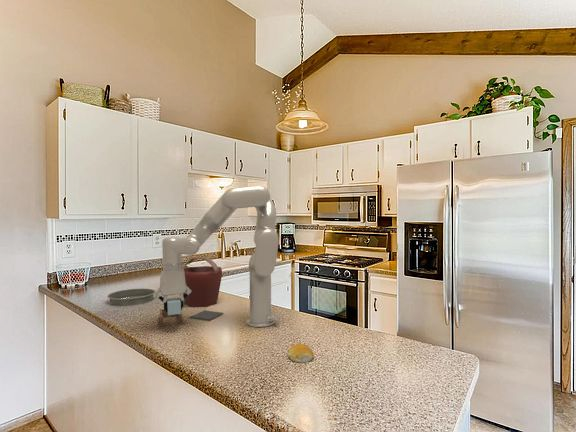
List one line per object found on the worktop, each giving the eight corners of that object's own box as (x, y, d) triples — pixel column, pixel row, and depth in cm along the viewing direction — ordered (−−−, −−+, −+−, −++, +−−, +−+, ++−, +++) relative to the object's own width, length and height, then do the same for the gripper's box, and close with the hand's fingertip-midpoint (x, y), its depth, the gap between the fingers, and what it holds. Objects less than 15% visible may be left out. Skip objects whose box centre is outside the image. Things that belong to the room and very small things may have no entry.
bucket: (173, 302, 182) (173, 257, 182) (209, 295, 196) (209, 253, 196) (193, 311, 163) (193, 261, 163) (231, 303, 178) (231, 257, 178)
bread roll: (308, 351, 116) (308, 339, 116) (316, 361, 107) (316, 349, 107) (285, 353, 114) (285, 341, 114) (291, 364, 105) (291, 352, 105)
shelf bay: (182, 324, 144) (182, 316, 144) (160, 327, 141) (160, 318, 141) (179, 314, 158) (179, 307, 158) (159, 317, 154) (159, 309, 154)
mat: (223, 314, 159) (223, 312, 159) (209, 321, 148) (209, 319, 148) (204, 311, 163) (204, 310, 163) (189, 318, 153) (189, 316, 153)
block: (181, 313, 134) (180, 301, 134) (167, 315, 132) (167, 303, 132) (179, 309, 140) (179, 297, 140) (167, 310, 138) (166, 299, 138)
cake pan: (108, 298, 191) (108, 290, 191) (154, 294, 201) (154, 286, 201) (105, 309, 169) (105, 300, 169) (156, 303, 179) (156, 295, 179)
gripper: (192, 264, 144) (193, 305, 144) (150, 267, 137) (151, 311, 137) (194, 266, 137) (195, 310, 137) (150, 270, 130) (151, 316, 130)
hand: (173, 310), depth 137 cm, fingers closed on block, 5 cm apart
